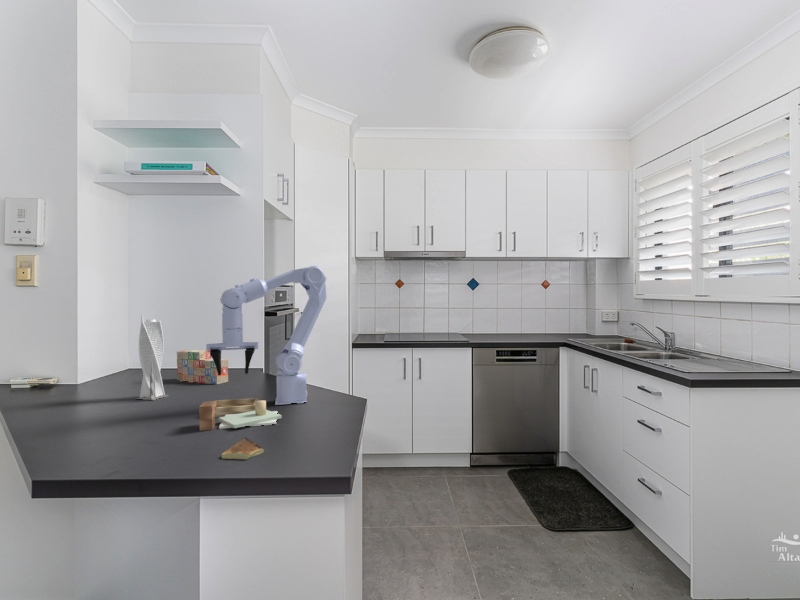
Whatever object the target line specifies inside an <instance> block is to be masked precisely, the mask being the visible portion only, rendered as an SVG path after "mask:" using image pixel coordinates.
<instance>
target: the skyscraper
mask: <svg viewBox="0 0 800 600" xmlns="http://www.w3.org/2000/svg"><path fill="white" fill-rule="evenodd" d="M140 316H141V317H140V319H141V321H140V322H141V323H140V329H139V336H138V354H139V361H140V366H141V369H142V374H143V375H142V381H141V387H140V394H139V397H136V398H135V399H143V400H142V401H148V400H154V401H156V399H157V400H160V399H159V398H161V399H163V397H164V398H168V397H169V396H170V395H169V394H166V393H165V388H164V385H163V383H164V382H163V379H162V375H161V369H162V366H163V360H164V353H165V339H164V332H163V326H162V320H161V319H160V318H159V319H158V320H156V318H146V319H145V321H144V315H143V314H141V315H140Z"/></svg>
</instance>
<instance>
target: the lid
mask: <svg viewBox="0 0 800 600" xmlns="http://www.w3.org/2000/svg"><path fill="white" fill-rule="evenodd" d="M271 411H272V410H268V409H267V400H264V399H263V400H259V399H258V401H256V402H255V411H250V412H245V413H240V414H235V415H230V416H223V417H218V422H220V423H221V422H222V423H225V424H227V425H229V426H231V427H233V428H232V429H238V428H244V427H243V426H248V425H252V424H257V423H261V422H266V421H271V420H275V419H277V420H278V419H282V418H283V417H282V414H280V413H278V414H277V413H274V412H271Z"/></svg>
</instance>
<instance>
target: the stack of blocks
mask: <svg viewBox="0 0 800 600" xmlns="http://www.w3.org/2000/svg"><path fill="white" fill-rule="evenodd" d="M176 367H177V368H176V369H177V371H176V372H177V373H176V374H177V375H176V376H177V381H178V380H180V381H179V382H182V381H188V382H187V383H193V382H197V383H196V384H207V385H210V384H211V385H220V384H224V383H227V382H229V358H222V357H221V375H218V372H217V368H216V365H215V363H214V360H213V359H212V357H211V355H210V351H206V350H205V349H185V350H179V351H176Z"/></svg>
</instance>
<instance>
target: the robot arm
mask: <svg viewBox="0 0 800 600" xmlns="http://www.w3.org/2000/svg"><path fill="white" fill-rule="evenodd" d="M326 282H327V277H326V275H325V273H324V270H323V269H322V268H320V267H319V266H318V265H311V266H308V267H303V268H296V269H292V270H289V271H286V272H284V273H281V274H279V275H275V276H274V277H271V278H269V279H266V280H262V279H260V278H255V277H254V278H250V279H249V281H248V282H245V283H242V284H240V285H239V284H235V285H234V287H231V288H229V289H228V288H227V289H226V290H224V291H223V292H222V294H221V296H220V303H221V304H222V310H221V311H222V313H221V326H222V327H221V328H222V329H221V330H222V331H221V332H222V333H221V334H222V342H221V343H207V344H206V351H210V355H211V358H212V359H213V360H214V363H215V365H216V368H217V372H218V375H221V358H222V351H232V350H233V351H234V350H235V351H236V350H237V351H238V350H244V360H245V361H244V362H245V364H244V365H245V366H244V367H245V368H244V374H245V375H247V374H248V373H249V369H250V363H251V360H252V358H253V355H254V353H255V351H256V350H259V342H257V341H256V342H254V341H246V342H244V340H243V339H244V336H243V332H244V331H243V326H244V325H243V311H242V306H243V304H248V303H250V302H253V301H255V300H258V299H261V298H263V297H265V296H266V295H267V294H268V292H269V291H270V290H272V289H275V288H279V287H281V286H284V285H287V284H290V283H293V284H300V285H301V286H302V287H303V289H305V291H306V294H307V296H308V299H307V302H306V305H305V306H304V309H303V310H302V313H301V314H300V317H299V319H298V321H297V323H296V325H295V328H294V329H293V332H292V334H291V335H290V337H289V340H288V342H287V343H286V344H285V345H284V347H283V349H282V350H281V352H279V353H278V354H277V355H276V357H275V358H274V363H275V366H276V368H277V372H276V373H275V374H276V398H275V402H274V403H275V404H274V405H275V406H279V405H280V406H281V405H292V404H291V403H297V404H305V403H304V402H307V403H308V401H307V400H308V399H307V397H308V390H307V373H302V372H300V370H301V368H302V358H303V356H304V348H305V346H306V343H307V341H308V339H309V336H310V335H311V332H312V331H313V328H314V327H315V326H314V325H315V324H316V322H317V320H318V318H319V316H320V313H321V312H322V308H323V306H324V305H325V302H326V301H327V287H326V286H327V285H326Z"/></svg>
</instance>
